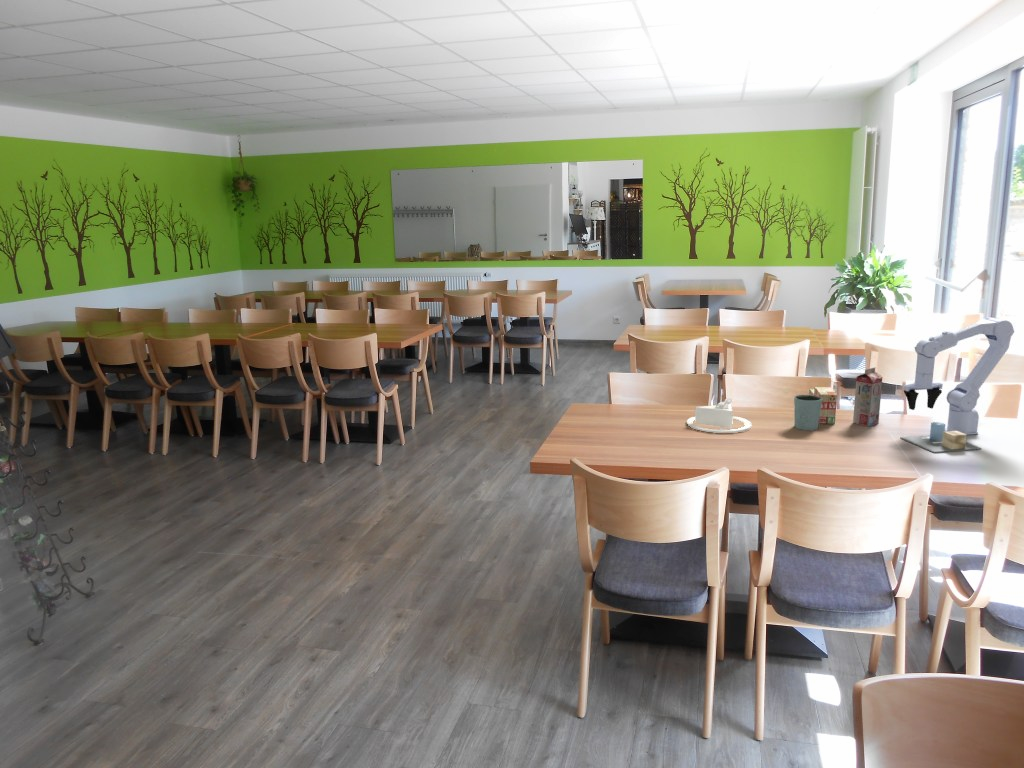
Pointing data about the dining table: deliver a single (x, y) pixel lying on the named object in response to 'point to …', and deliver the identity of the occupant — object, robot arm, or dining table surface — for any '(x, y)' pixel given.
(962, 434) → the maple block
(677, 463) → the dining table surface
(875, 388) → the juice carton
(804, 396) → the teal cup
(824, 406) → the stack of blocks
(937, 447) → the letter board
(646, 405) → the dining table surface
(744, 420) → the dish
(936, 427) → the blue capsule
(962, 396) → the robot arm
